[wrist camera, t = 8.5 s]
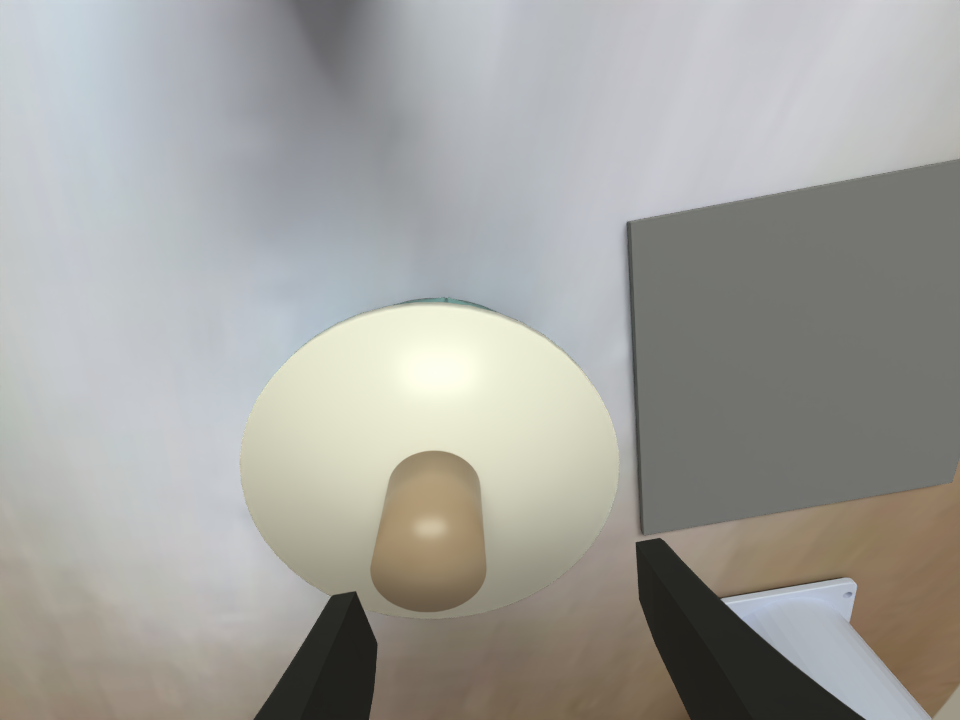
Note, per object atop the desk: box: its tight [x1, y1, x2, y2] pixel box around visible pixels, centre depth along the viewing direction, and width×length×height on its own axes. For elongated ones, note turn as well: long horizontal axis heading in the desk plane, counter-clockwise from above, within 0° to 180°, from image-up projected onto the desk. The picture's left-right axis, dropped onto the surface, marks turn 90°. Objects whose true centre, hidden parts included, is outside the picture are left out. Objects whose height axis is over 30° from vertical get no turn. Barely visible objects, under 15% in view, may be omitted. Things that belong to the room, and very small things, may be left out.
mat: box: [627, 159, 960, 535], centre depth 20 cm, size 16×16×1 cm
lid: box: [240, 302, 619, 619], centre depth 14 cm, size 13×13×4 cm
